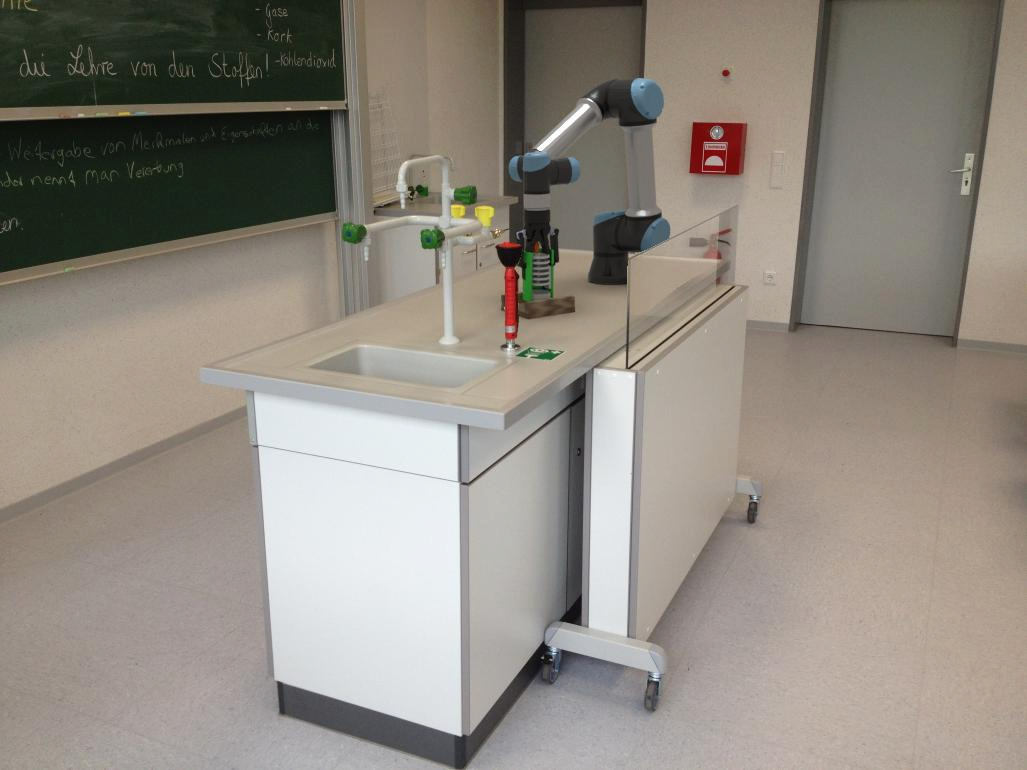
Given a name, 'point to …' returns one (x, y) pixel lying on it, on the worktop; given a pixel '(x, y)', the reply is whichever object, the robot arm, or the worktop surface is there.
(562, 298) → the housing
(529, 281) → the green-shelled ribbed roller
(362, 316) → the worktop surface
